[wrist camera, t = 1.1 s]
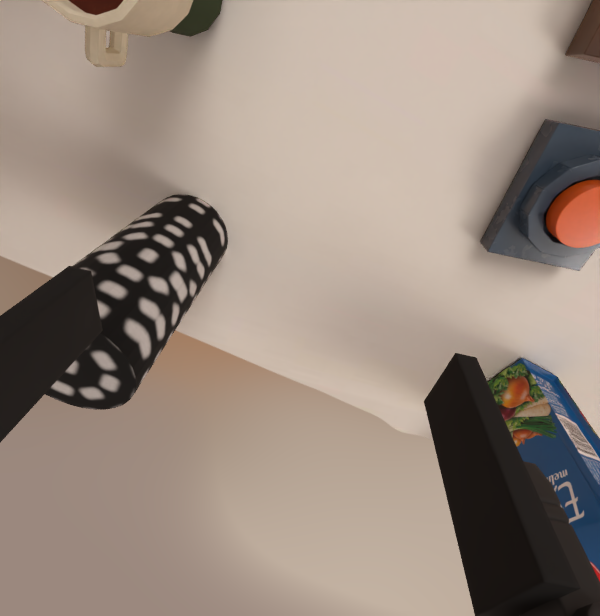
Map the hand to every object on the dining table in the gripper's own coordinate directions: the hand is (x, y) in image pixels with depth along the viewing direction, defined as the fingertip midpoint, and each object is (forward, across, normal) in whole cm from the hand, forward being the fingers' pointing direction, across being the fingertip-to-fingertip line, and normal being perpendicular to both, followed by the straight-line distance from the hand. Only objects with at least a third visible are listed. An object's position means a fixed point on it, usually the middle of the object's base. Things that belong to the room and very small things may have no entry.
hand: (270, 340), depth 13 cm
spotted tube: (+24, -12, -9) cm, 28 cm away
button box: (+24, +22, +3) cm, 32 cm away
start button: (+20, +22, +3) cm, 30 cm away
